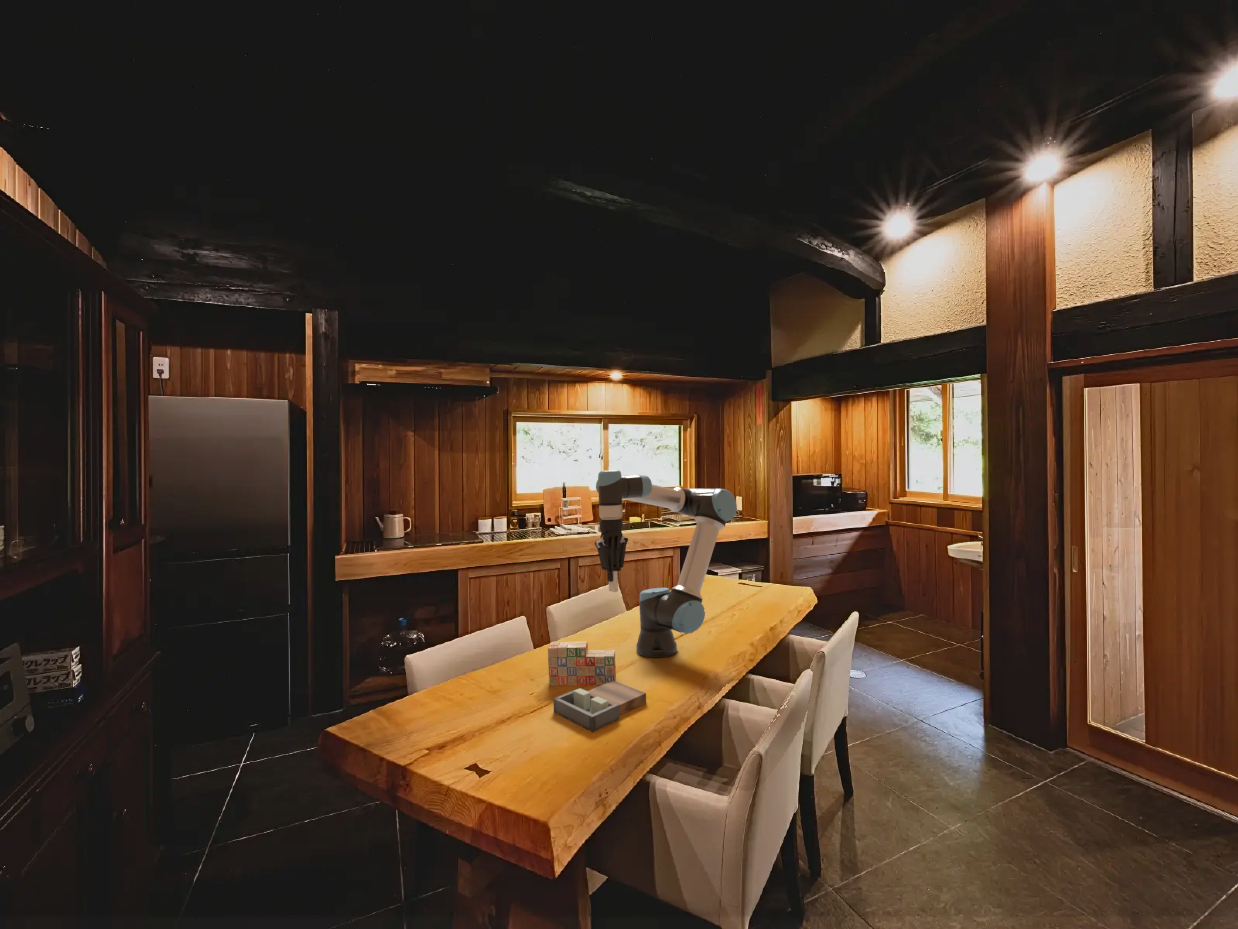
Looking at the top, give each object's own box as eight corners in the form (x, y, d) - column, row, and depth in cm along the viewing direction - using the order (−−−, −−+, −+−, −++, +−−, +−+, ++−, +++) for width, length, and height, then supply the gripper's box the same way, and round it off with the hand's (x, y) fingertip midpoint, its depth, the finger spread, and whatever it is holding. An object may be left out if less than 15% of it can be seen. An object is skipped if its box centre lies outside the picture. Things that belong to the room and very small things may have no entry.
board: (613, 690, 170) (613, 680, 170) (646, 703, 160) (645, 693, 160) (584, 702, 162) (583, 692, 162) (616, 717, 151) (616, 706, 151)
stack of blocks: (616, 677, 180) (615, 640, 180) (614, 685, 174) (613, 647, 174) (552, 678, 182) (551, 641, 182) (548, 685, 175) (547, 647, 175)
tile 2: (597, 696, 154) (590, 699, 152) (608, 701, 150) (601, 704, 149) (597, 712, 154) (591, 715, 152) (608, 717, 150) (601, 720, 149)
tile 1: (580, 688, 160) (573, 690, 158) (590, 692, 156) (583, 695, 155) (580, 703, 160) (573, 706, 158) (590, 708, 156) (583, 711, 155)
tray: (580, 701, 163) (579, 688, 163) (619, 719, 150) (619, 704, 150) (553, 712, 156) (553, 698, 156) (592, 732, 144) (592, 717, 144)
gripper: (617, 515, 183) (620, 585, 183) (588, 519, 174) (590, 593, 174) (633, 516, 178) (635, 589, 178) (603, 520, 169) (606, 596, 169)
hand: (613, 591), depth 176 cm, fingers closed
